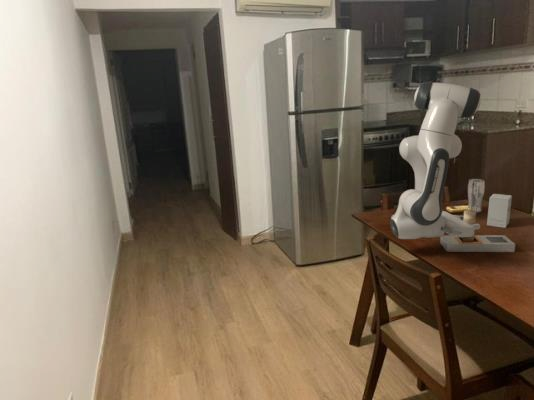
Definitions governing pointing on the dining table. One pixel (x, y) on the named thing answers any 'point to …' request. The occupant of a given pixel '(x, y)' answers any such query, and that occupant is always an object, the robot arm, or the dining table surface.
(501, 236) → the board
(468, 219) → the peg
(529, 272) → the dining table surface
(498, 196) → the supplement box
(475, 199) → the beer glass
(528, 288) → the dining table surface
